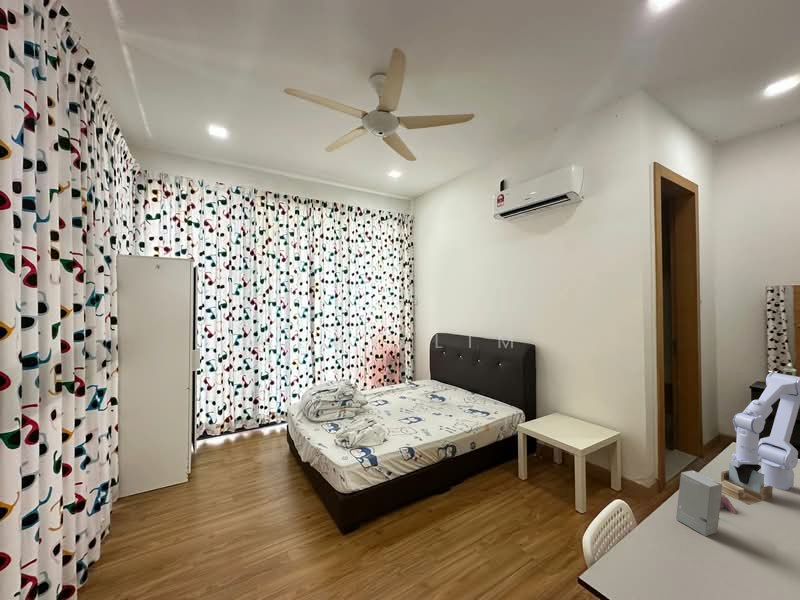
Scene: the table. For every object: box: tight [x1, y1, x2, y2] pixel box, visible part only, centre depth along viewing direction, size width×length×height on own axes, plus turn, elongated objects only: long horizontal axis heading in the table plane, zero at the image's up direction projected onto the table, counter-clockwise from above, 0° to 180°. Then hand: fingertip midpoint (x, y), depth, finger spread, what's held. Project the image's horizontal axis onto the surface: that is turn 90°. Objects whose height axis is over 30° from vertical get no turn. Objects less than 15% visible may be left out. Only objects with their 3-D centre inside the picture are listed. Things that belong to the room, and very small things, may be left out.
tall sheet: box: [728, 462, 765, 493], centre depth 124 cm, size 2×9×8 cm, turn 18°
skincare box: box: [675, 470, 723, 537], centre depth 105 cm, size 8×7×16 cm
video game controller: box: [720, 493, 738, 515], centre depth 113 cm, size 10×5×7 cm, turn 85°
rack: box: [720, 469, 774, 505], centre depth 122 cm, size 14×12×5 cm
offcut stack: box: [718, 480, 745, 500], centre depth 121 cm, size 4×6×3 cm, turn 18°
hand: (745, 482), depth 124 cm, fingers closed on tall sheet, 2 cm apart
